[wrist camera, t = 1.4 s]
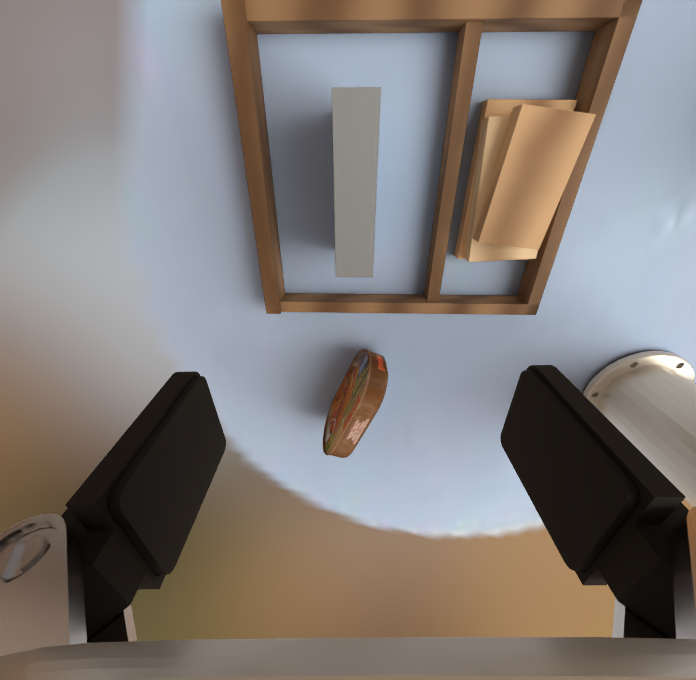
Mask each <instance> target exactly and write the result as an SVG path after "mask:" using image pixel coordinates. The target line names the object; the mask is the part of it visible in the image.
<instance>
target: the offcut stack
mask: <svg viewBox="0 0 696 680" xmlns="http://www.w3.org/2000/svg"><path fill="white" fill-rule="evenodd" d="M576 102H577V100H512V99H488V100H486V101H484V102H482V107H481V113H480V118H479V124H478V129H477V135H476V140H475V146H474V151H473V157H472V162H471V168H470V173H469V178H468V184H467V189H466V195H465V200H464V206H463V211H462V217H461V222H460V228H459V233H458V239H457V244H456V250H455V255H454V256H456V257H457V258H458V259H466V260H467V261H468V262H479V261H498V260H528V259H536V256H537V252H538V250H539V248H540V246H541V243H542V241H543V239H544V236H545V234H546V231H547V229H548V227H549V224H550V222H551V220H552V217H553V215H554V213H555V210H556V208H557V206H558V203H559V201H560V198H561V196H562V194H563V191H564V189H565V187H566V184H567V182H568V180H569V177H570V175H571V172H572V170H573V168H574V165H575V163H576V161H577V158H578V156H579V154H580V151H581V149H582V147H583V144H584V142H585V139H586V137H587V135H588V132H589V130H590V128H591V125H592V123H593V121H594V118H595V116H596V114H590V113H583V112H576V111H574V109H575V106H576Z"/></svg>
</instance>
